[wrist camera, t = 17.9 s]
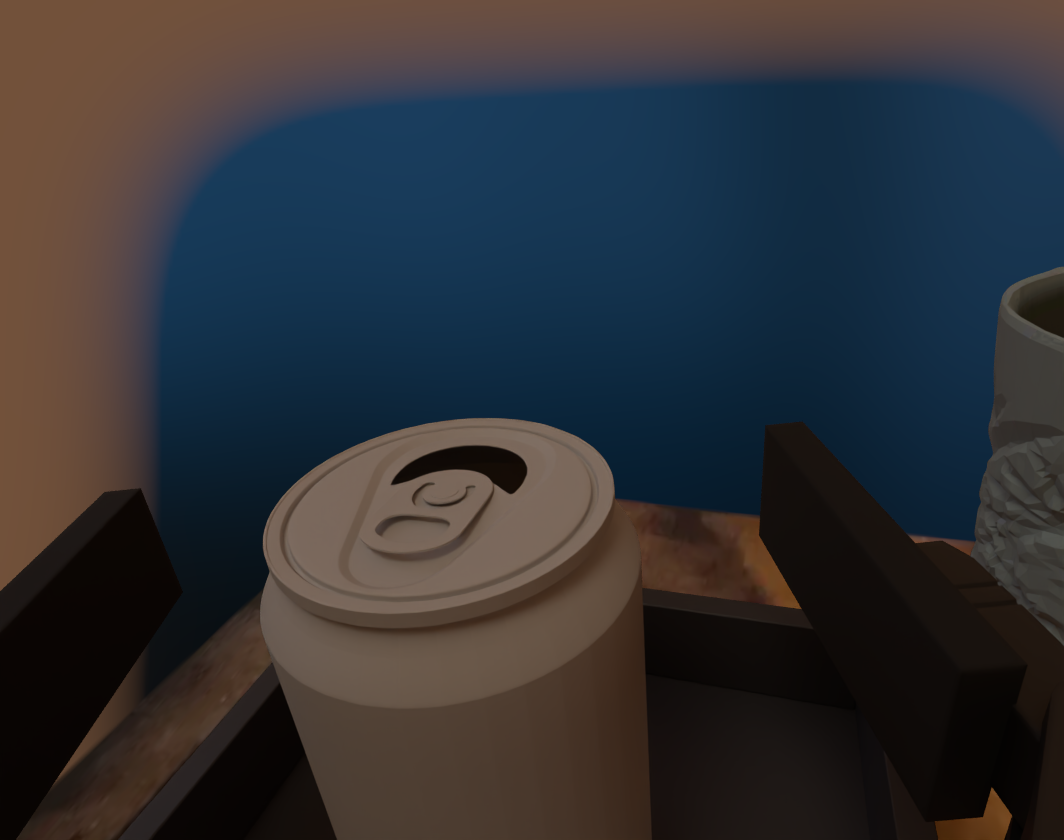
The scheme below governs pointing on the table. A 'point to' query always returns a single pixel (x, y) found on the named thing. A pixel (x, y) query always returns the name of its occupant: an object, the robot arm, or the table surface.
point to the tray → (673, 744)
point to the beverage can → (464, 636)
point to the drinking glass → (1027, 452)
